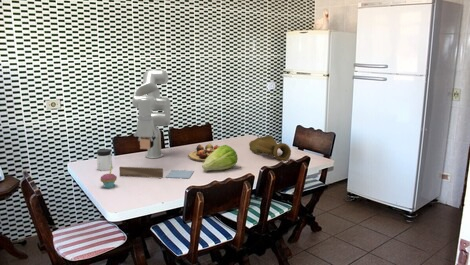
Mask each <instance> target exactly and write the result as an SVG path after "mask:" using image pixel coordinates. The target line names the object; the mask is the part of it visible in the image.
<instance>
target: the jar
mask: <svg viewBox="0 0 470 265" xmlns="http://www.w3.org/2000/svg"><path fill="white" fill-rule="evenodd" d="M96 151H97V152H96V154H97V155H96V161H97V162H96V163H97V170H99V171H109V170H110V168H111V165H112V166H113V159H112V158H113V157H112V156H113V155H112V151H111V149H109V148H103V149H98V150H96Z"/></svg>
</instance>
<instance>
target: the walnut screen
mask: <svg viewBox="0 0 470 265" xmlns="http://www.w3.org/2000/svg"><path fill="white" fill-rule="evenodd" d="M119 177H130V178H131V177H134V178H135V177H136V178H151V179H152V178H156V179H157V178H159V179H163V178H164V167H163V168H161V167H142V166H141V167H138V166H119Z"/></svg>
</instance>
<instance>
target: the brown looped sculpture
mask: <svg viewBox="0 0 470 265" xmlns="http://www.w3.org/2000/svg"><path fill="white" fill-rule="evenodd" d="M248 143H249V144H248V146H249V151H251V152H252V153H254V154H255V155H261V154H265V155H268V156H269V155H271V156H270V157H274V156H275V157H274V158H275V159H276V160H278V161H280V162H282V161H281V160H285V161H287V160H289V158H290V157H291V155H292V151H291V150H292V149H291V148H290V146H289V144H287V143H285V142H284V143H283V142H280V143H277V142H276V140H275V138H274V137H273V136H272V135H271V134H270V135H266V136H265V135H264V136H262V137H260V136H258V137H257V138H256V139H254V140H251V141H250V142H248ZM278 150H280V151H281V154H278Z"/></svg>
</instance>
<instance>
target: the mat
mask: <svg viewBox="0 0 470 265" xmlns="http://www.w3.org/2000/svg"><path fill="white" fill-rule="evenodd" d="M194 172H195V170H188V169H187V170H186V169H185V170H179V169H171V170H170V171H169V173H168V174H167V175H166V176H165V179H180V178H182V179H183V180H189V179H191V177H192V176H193V173H194ZM182 179H181V180H182Z"/></svg>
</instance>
